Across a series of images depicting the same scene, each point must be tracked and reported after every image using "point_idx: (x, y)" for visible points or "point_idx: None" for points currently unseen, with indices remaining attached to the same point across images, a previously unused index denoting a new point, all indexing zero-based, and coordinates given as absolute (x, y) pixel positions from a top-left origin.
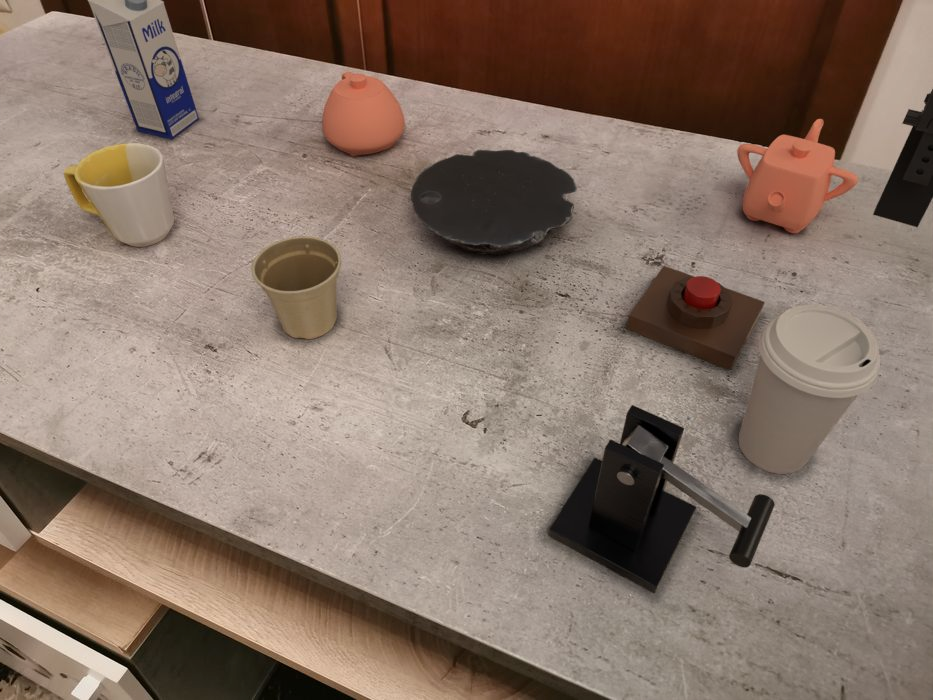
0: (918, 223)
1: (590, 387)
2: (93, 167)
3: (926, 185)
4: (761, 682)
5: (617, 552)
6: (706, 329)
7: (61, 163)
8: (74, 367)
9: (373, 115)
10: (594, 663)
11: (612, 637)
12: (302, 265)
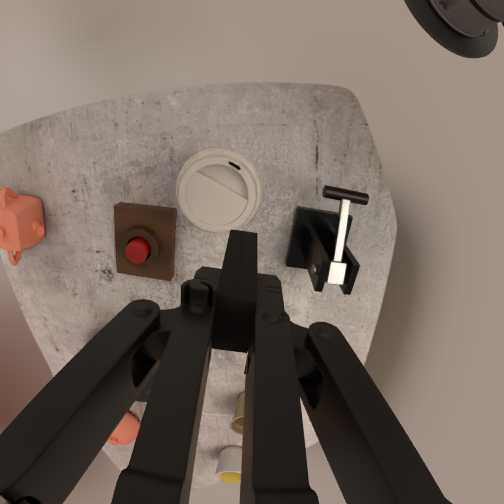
0: (256, 235)
1: None
2: (234, 478)
3: (276, 276)
4: (376, 160)
5: None
6: (158, 235)
7: (214, 474)
8: (309, 433)
9: (122, 427)
10: (388, 232)
11: (375, 227)
12: (237, 419)
